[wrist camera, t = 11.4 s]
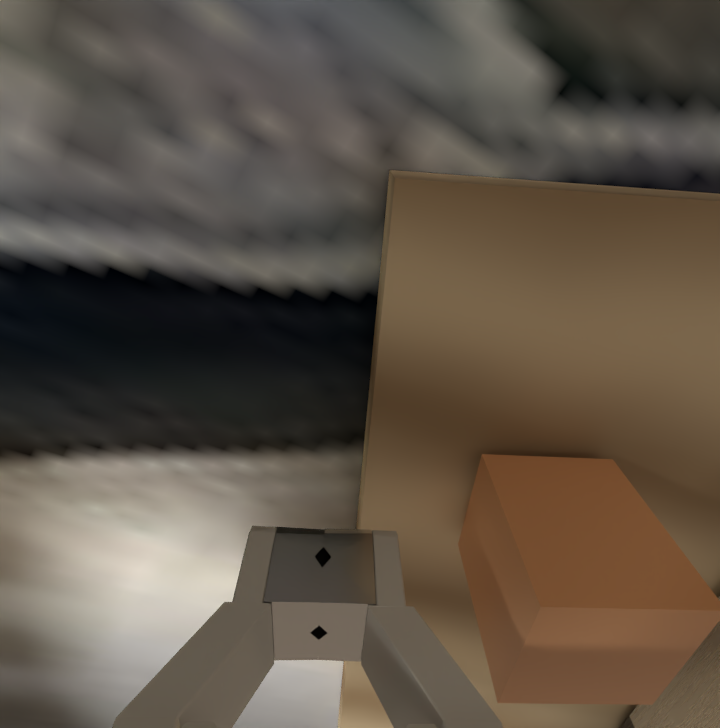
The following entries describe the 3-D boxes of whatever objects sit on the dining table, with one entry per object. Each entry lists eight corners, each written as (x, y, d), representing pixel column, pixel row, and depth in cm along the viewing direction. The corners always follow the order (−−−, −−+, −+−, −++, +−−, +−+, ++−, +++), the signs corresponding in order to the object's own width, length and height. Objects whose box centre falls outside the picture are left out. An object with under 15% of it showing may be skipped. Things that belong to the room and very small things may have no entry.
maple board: (389, 169, 8) (394, 177, 7) (1161, 225, 9) (1267, 240, 8) (336, 743, 20) (335, 778, 19) (675, 745, 21) (692, 778, 20)
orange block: (481, 454, 10) (541, 606, 7) (613, 458, 10) (727, 611, 7) (457, 544, 11) (497, 703, 8) (572, 547, 12) (652, 704, 8)
